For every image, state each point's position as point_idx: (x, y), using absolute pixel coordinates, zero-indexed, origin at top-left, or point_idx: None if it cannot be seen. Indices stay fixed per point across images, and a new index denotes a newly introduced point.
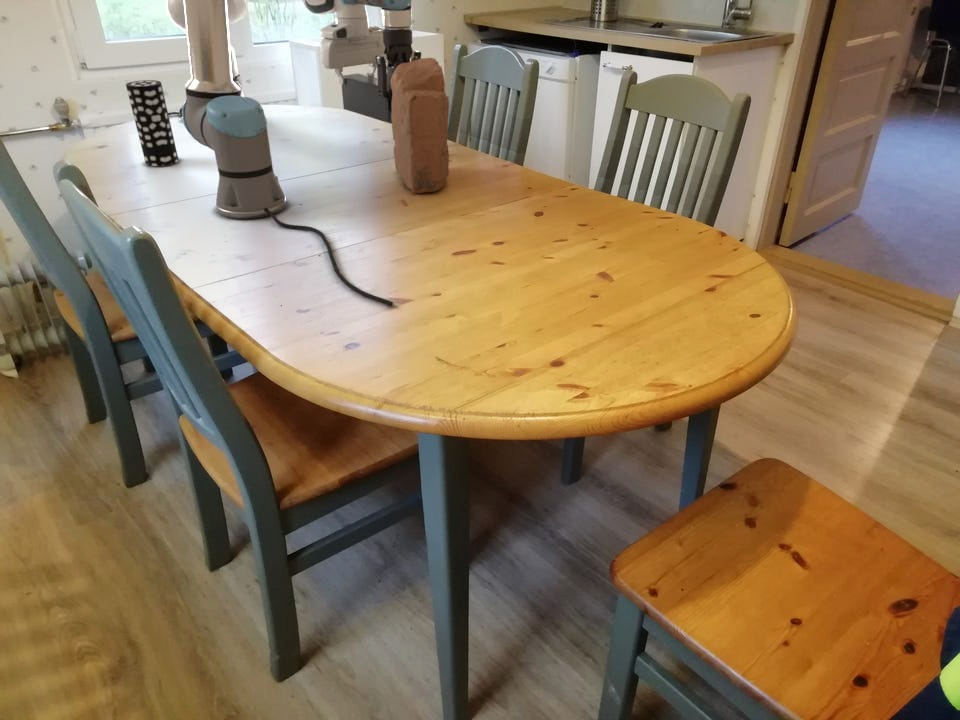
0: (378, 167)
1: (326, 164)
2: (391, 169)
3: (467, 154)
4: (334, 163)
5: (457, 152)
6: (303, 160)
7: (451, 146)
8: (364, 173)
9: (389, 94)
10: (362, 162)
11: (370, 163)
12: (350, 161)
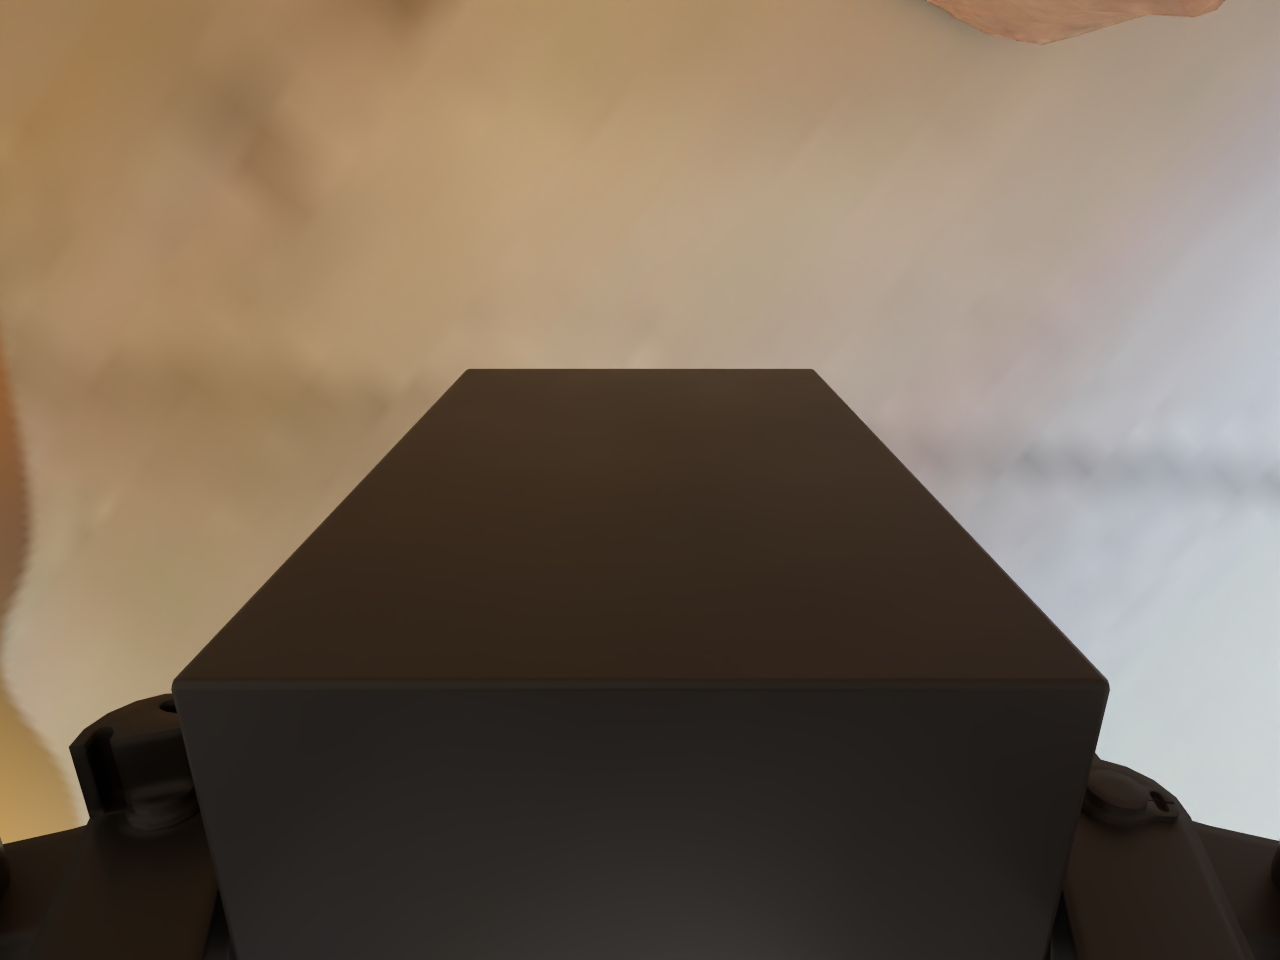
0: (1046, 297)
1: (1255, 654)
2: (1012, 153)
3: (40, 7)
4: (1195, 636)
5: (104, 154)
6: (1275, 829)
7: (51, 370)
8: (1272, 232)
9: (1192, 847)
10: (1027, 514)
11: (1002, 445)
12: (1071, 599)
